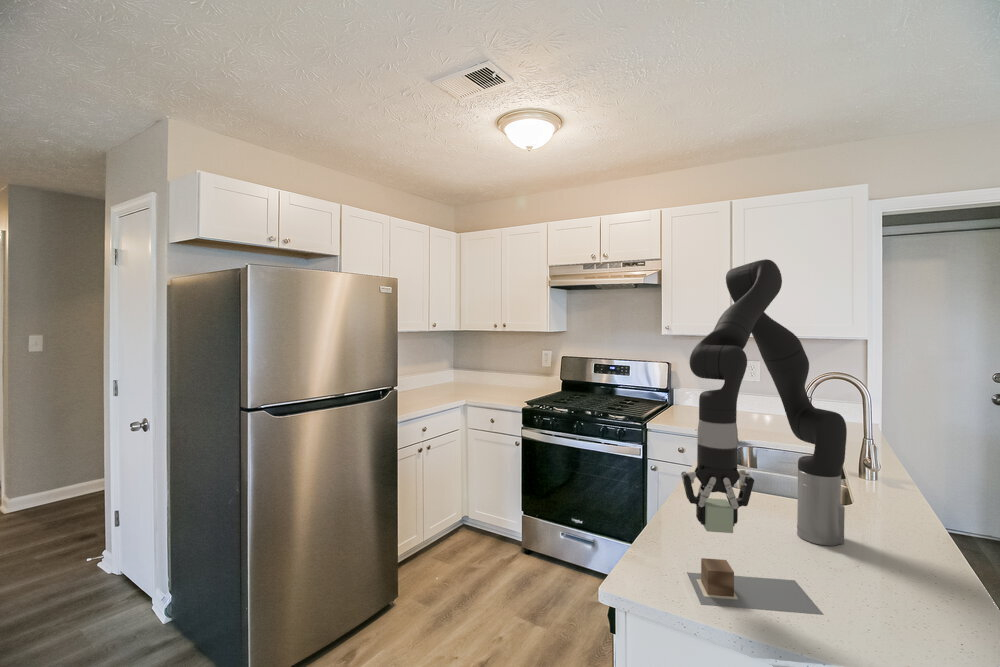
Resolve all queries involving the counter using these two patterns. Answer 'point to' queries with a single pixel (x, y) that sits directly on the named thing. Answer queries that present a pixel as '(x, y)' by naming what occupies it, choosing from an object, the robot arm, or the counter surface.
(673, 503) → the counter surface
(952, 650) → the counter surface
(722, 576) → the walnut block
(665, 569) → the counter surface
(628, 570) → the counter surface
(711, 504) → the sage block
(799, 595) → the build mat
